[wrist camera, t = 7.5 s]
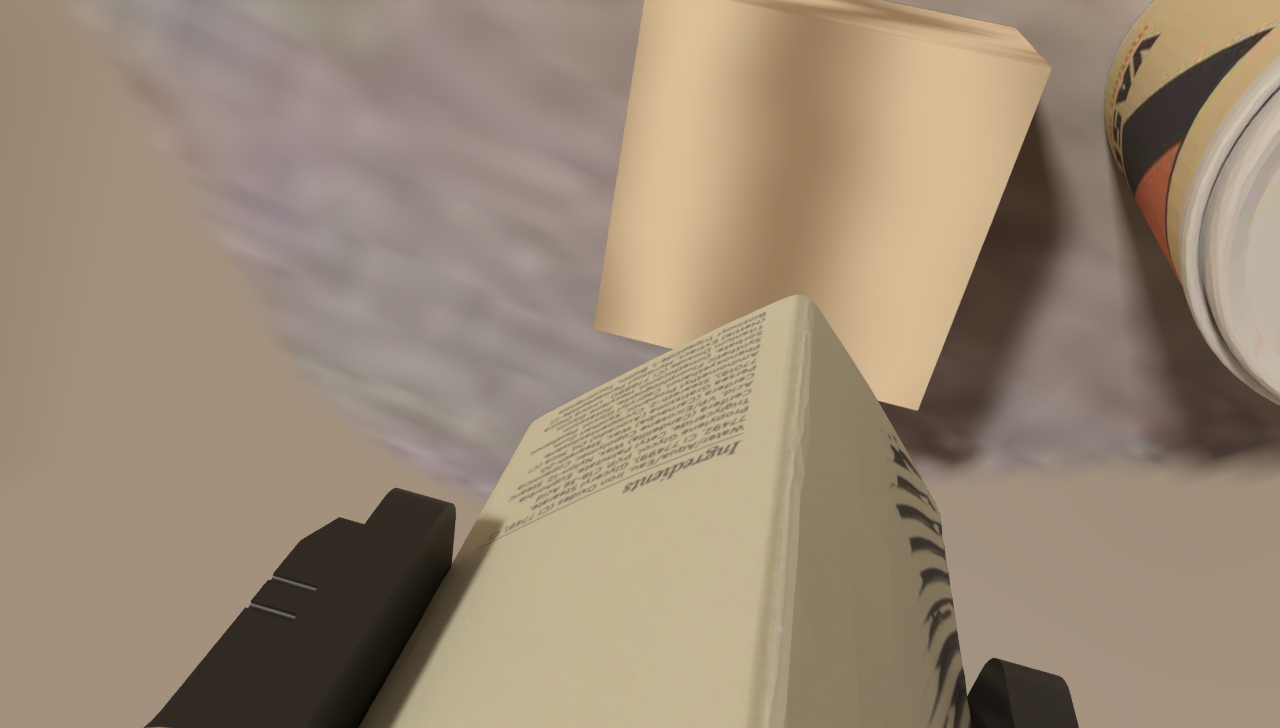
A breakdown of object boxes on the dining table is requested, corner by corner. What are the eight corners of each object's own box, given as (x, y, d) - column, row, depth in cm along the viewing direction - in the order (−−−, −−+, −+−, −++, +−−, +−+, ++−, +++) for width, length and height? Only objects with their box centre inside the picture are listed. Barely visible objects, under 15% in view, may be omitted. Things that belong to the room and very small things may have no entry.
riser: (1015, 28, 26) (1051, 68, 21) (909, 321, 32) (917, 411, 27) (687, -40, 28) (646, -17, 22) (635, 255, 33) (593, 328, 28)
